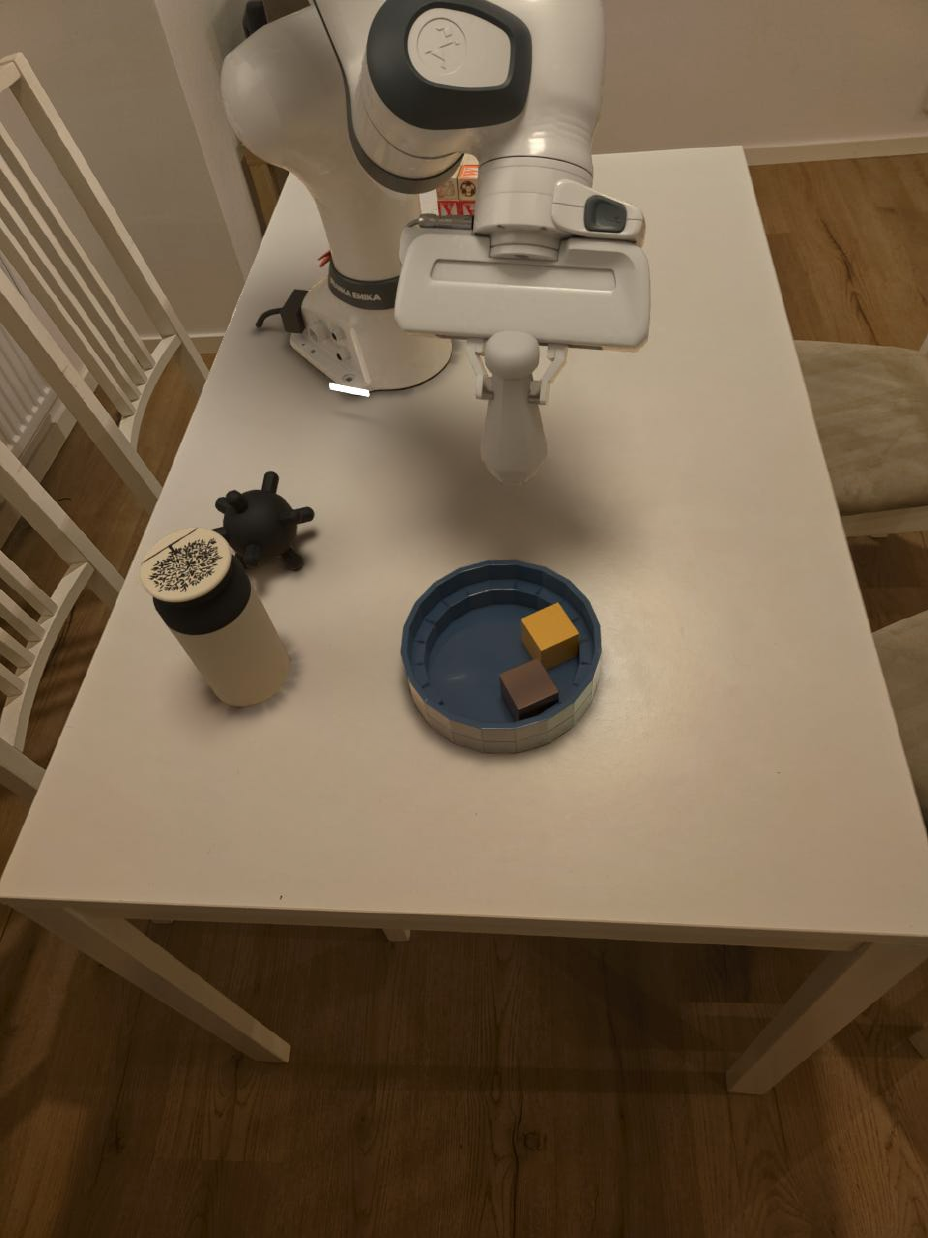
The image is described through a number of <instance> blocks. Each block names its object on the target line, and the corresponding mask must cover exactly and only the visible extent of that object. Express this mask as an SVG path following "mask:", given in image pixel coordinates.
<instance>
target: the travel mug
mask: <svg viewBox="0 0 928 1238" xmlns="http://www.w3.org/2000/svg"><path fill="white" fill-rule="evenodd" d="M139 578H140V582H141V585H142V587H143V589H144V590H145V591H146V593H148V594H149V595H150V596H152V604H153V606H154V609H155V611H156V612H157V614H158V616H160V618H161V620H162V621H163V622H164V624H165V625H166V627H167V628H168V629H169V631H170V632H171V634H172V635H173V636H174V638H175V639H176V640H177V642H178V643H179V645H180V646H181V648H182V649H183V651H184V652H185V653H186V655H187V656H188V657H189V659H190V660H191V662H192V663H193V665H194V666H195V667H196V669H197V670H198V671H199V673H200V674H201V677H203V679H204V680H205V681H206V683H207V685H209V687H210V688H211V690H212V692H214V694H215V696H217V698H218V699H219V700H221V701H222V702H223V703H225V704H227V705H231V706H233V707H238V708H243V707H250V706H253V705H257V704H261V703H263V702H265V701H267V700H269V698H271V697H273V696H274V695H275V694H277V692H279V691H280V689H281V688H282V687H283V686H284V684H285V683H286V680H287V679H288V676H289V673H290V669H291V659H290V655H289V653H288V651H287V649H286V648H285V645H284V643H283V641H282V638H280V636H279V633H278V631H277V630H276V627H275V626H274V623H273V622H272V619H271V618H270V616H269V614H268V612H267V610H266V608H265V606H264V604H263V602H262V600H261V598H260V596H259V595H258V592H257V590H256V589H255V587H254V585H253V582H252V581H251V579H250V577H249V575H248V573H247V571H246V568H245V569H244V567H243V565H242V563H241V562H240V561H239V559H238V558H236V557H235V554H233V553H232V548H231V547H230V545H229V544H228V542H227V541H226V540H225V538H224V537H223V536H221V535H220V534H219V533H217V532H215V531H212V530H211V529H209V528H204V527H189V528H188V527H187V528H184V529H180V530H176V531H174V532H172V533H169V534H167V535H166V536H164V537H162V538H160V539H159V540H158V541H157V542H156V543H155V544H154V545H152V546H151V547H150V548H149V550H148V551H147V552H146V554H145V556H144V557H143V559H142V562H141V564H140V569H139Z"/></svg>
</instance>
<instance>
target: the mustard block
mask: <svg viewBox="0 0 928 1238" xmlns="http://www.w3.org/2000/svg"><path fill="white" fill-rule="evenodd" d="M521 632H522V643H523V644H524V646H525V647H526V649H527V651H528V652H529V654H530V655H531V657H532V659H533V660H534V659H536V658H539V659H540V661H541V663H542V664H543V666H544V668H545V669H546V670H548V669H550V668H553V667H555V666H557V665H559V664H561V663H563V662H565V661H568V660H570V659H572V658H574V657H576V656H578V646H579V632H578V631H577V629H576V628H575V626H574V625H573V623H572V622H571V621H570V619H569V618H568V616H567V615H566V613H565V612H564V610H563V609H562V607H561V606H560V605H559V603H556V604H553V605H551V606H549V607H547V608H545V609H542V610H540V611H538V612H536V613H534V614H531V615H529V616H527V617H525V618H522V619H521Z"/></svg>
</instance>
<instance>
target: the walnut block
mask: <svg viewBox="0 0 928 1238" xmlns="http://www.w3.org/2000/svg"><path fill="white" fill-rule="evenodd" d="M499 680H500V690H501V697H502V699H503V700H504V702H505V704H506V706H507V708H508V709H509V711H510V713H511V715H512V717H513V719H514V720H515V722H516V721H520V720H523V719H527V718H530V717H534V716H537V715H539V714H541V713H542V712H544V711H545V710H547V709H548V708H550V707H551V706H553V705H555V704H556V703H558V702H559V691H558V689H557V688H556V686H555V684H554V683H553V681H552V679H551V678H550V676H549V674H548V673H547V671H546V669H545V668H544V666H543V664H542V663H541V661H540V659H539V658H536V659H534V660H532V661H529V662H527V663H525V664H522V665H520V666H518V667H516V668H513V669H511V670H509V671H507V672H504V673H502V674H500V675H499Z"/></svg>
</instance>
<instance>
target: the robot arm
mask: <svg viewBox="0 0 928 1238" xmlns="http://www.w3.org/2000/svg"><path fill="white" fill-rule="evenodd" d="M307 1H308V4H309V5H308V6H306V7H303V8H301V9H298V10H296V11H294V12H292V13H290V14H287V15H285V16H282V17H280V18H278V19H276V20H273V21H271V22H268V23H266V24H264V25H262V26H261V27H259V28H258V29H257V30H256V31H254V32H252V34H251V35H249V36H248V37H247V38H246V39H244V40H243V41H242V42H240V43H239V44H237V46H236V47H235V48H234V49H233V50H232V51H230V52H229V53H228V54H227V55H226V56H225V57H224V59H223V62H222V65H221V73H220V96H221V97H220V98H221V101H222V106H223V110H224V113H225V116H226V119H227V121H228V123H229V125H230V127H231V129H232V131H233V133H234V134H235V136H236V138H238V140H239V141H240V142H241V143H242V144H243V146H244V147H245V148H246V149H247V150H248V151H250V153H252V155H254V156H255V157H257V158H258V159H260V160H262V161H264V162H265V163H267V164H269V165H272V166H275V167H278V168H281V169H283V170H285V171H287V172H289V174H292V175H293V176H294V177H296V178H297V180H299V182H301V183H302V184H303V185H304V187H305V188H306V190H307V191H308V192H309V194H310V196H311V197H312V199H313V201H314V203H315V205H316V208H317V211H318V213H319V217H320V220H321V223H322V226H323V229H324V230H323V231H324V233H325V237H326V240H327V245H328V248H329V250H327V251H326V252H325V253H323V254H322V255H321V256H319V257H318V258H317V261H318V262H319V261H321V262H320V263H319V268H322V267H324V266H326V265H327V264H328V269H327V270H328V272H327V274H326V275H325V276H324V277H323V278H321V279H320V280H318V282H316V283H315V284H314V285H313V286H312V287H311V288H310V289H309V290H305V289H297V288H294V289H293V290H292V292H291V294H290V295H289V297H288V298H287V300H286V301H285V302H284V305H283V306H282V307H277V308H270V309H268V310H266V311H264V312H262V313H261V314H260V316H259V317H258V319H257V321H256V323H255V327H256V328H257V329H259V328H261V327H262V325H263V324H264V322H265V320H266V319H268V318H269V317H272V316H276V315H280V318H281V322H282V325H283V328H284V331H285V333H290V336H289V345H290V348H292V349H293V350H294V351H295V352H297V353H298V354H299V355H301V356H302V357H303V358H304V359H305V360H307V361H308V362H309V363H310V364H312V365H313V366H314V367H315V368H316V369H318V371H320V372H321V373H323V374H324V375H325V376H326V377H327V378H328V379H330V380H331V382H329V384H328V385H329V390H333V391H338V392H343V393H347V394H348V395H350V396H351V395H352V396H356V395H358V396H364V397H370V392H373V391H378V390H398V389H404V388H409V387H413V386H416V385H418V384H421V383H423V382H425V381H428V380H429V379H431V378H432V377H434V376H436V375H437V374H439V372H441V371H442V370H443V369H444V368H445V367H446V365H447V364H448V362H449V360H450V358H451V356H452V352H453V343H452V340H454V341H466V344H465V354H466V357H467V359H468V361H469V364H470V365H471V368H472V370H473V372H474V375H475V376H476V385H475V386H476V388H475V399H476V400H477V401H478V400H480V401H488V400H493V396H494V391H493V390H492V386H491V380H492V376H489V373H488V372H487V368H486V366H485V363H483V360H482V357H485V348H486V342H487V341H488V340H489V339H490V338H491V337H492V336H493V335H494V334H495V333H497V332H501V331H521V332H525V333H528V334H531V335H532V336H533V337H534V338H535V339H536V340H537V341H538V344H539V347H547V352H546V358H547V359H548V360H549V361H550V362H551V363H550V364H549V366H548V368H547V369H546V370H545V372H544V374H543V375H542V377H541V378H540V380H534V379H533V380H531V382H530V385H529V390H530V393H529V394H528V403H530V404H535V405H539V406H548V404H549V398H550V390H551V384H553V383H554V381H555V380H556V378H557V377H558V375H559V374H560V373H561V371H562V370H563V368H564V367H565V366H566V364H567V362H568V352H569V349H573V350H574V349H575V350H576V349H577V350H588V351H589V350H590V351H603V352H604V351H605V352H615V353H616V352H618V353H632V354H636V353H638V352H639V351H641V350H642V349H643V348H644V347H645V345H647V344H648V341H649V333H650V325H651V324H650V323H651V308H652V307H651V304H652V303H651V301H652V300H651V271H650V264H649V261H648V258H647V257H648V256H646V253H645V252H644V250H643V249H642V248H643V245H644V243H645V238H646V231H647V224H646V218H645V215H644V213H643V212H642V209H640V208H639V207H638V206H636V205H634V204H632V203H629V202H627V201H625V200H623V199H619V198H616V197H614V196H611V195H609V194H606V193H604V192H602V191H599V190H597V189H594V188H593V186H594V185H593V184H594V171H595V170H594V164H593V156H592V148H593V142H594V137H595V134H596V132H597V129H598V126H599V123H600V121H601V116H602V108H603V98H604V86H605V75H606V61H607V59H606V58H607V57H606V56H607V23H606V14H605V13H606V12H605V8H604V3H603V0H307ZM464 154H470V155H473V156H474V157H476V159H477V160H478V162H479V167H478V180H477V191H476V202H475V213H474V215H442V216H441V215H439V214H436V213H432V212H431V213H429V212H428V213H427V212H426V213H422V208H421V207H422V205H421V198H420V195H421V194H427V193H430V192H432V191H436V189H437V188H439V187H440V186H442V185H443V184H445V183H446V182H447V181H448V180H449V179H450V178H451V177H452V176H453V175H454V174H455V172H456V171H457V169H458V168H459V166H460V164H461V162H462V159H463V157H464Z"/></svg>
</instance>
